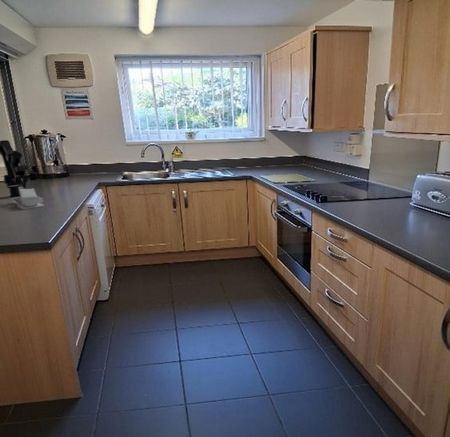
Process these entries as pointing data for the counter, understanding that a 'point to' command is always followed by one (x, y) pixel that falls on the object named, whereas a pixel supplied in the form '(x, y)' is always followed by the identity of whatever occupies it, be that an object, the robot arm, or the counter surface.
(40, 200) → the light grey flat frame
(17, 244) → the counter surface
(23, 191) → the skincare box
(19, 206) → the pad
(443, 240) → the counter surface
